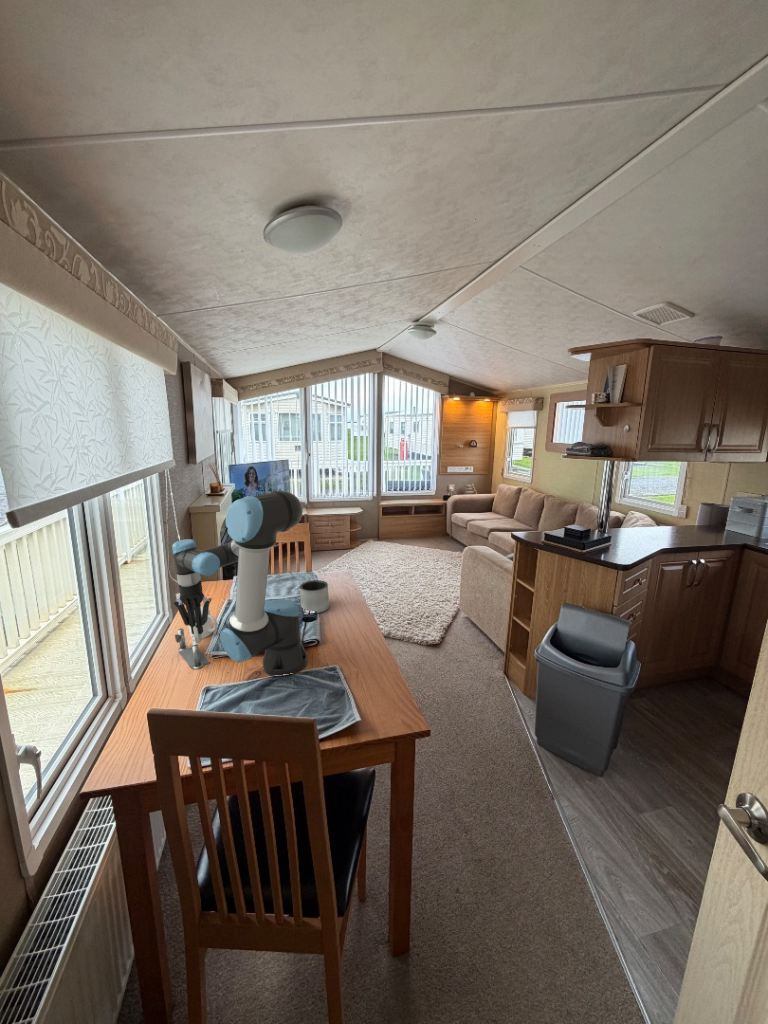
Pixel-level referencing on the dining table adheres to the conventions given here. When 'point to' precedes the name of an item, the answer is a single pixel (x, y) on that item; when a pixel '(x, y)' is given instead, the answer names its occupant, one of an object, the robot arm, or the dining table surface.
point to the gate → (193, 639)
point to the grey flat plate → (189, 657)
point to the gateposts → (181, 640)
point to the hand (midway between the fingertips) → (199, 641)
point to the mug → (207, 624)
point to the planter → (314, 595)
